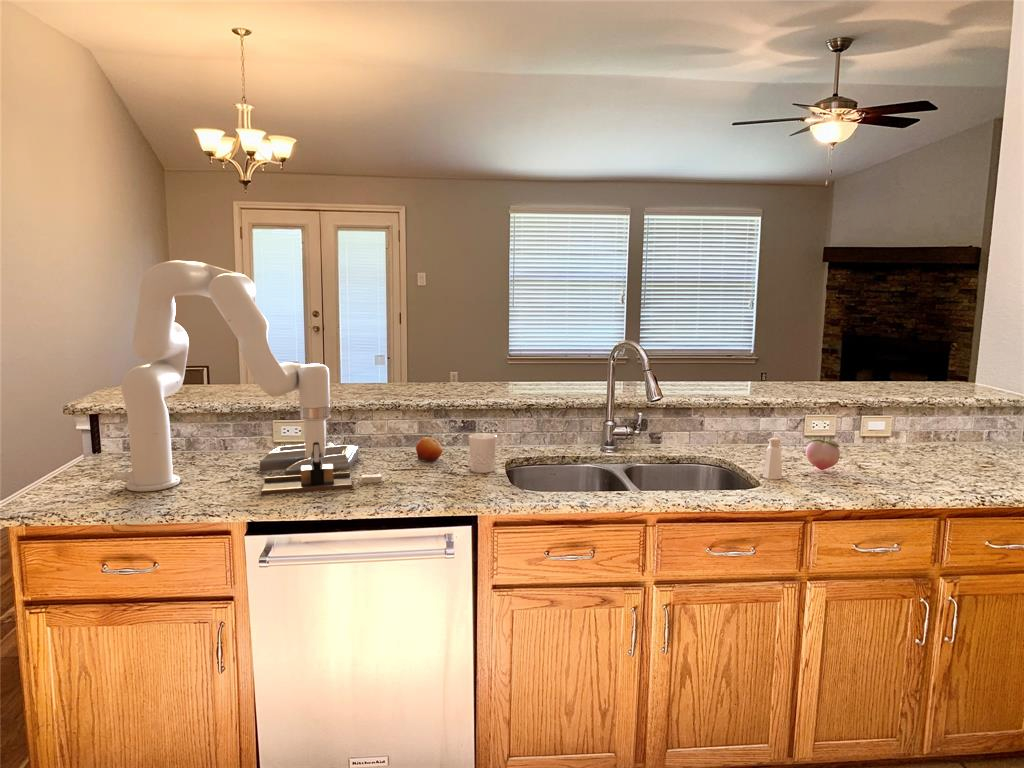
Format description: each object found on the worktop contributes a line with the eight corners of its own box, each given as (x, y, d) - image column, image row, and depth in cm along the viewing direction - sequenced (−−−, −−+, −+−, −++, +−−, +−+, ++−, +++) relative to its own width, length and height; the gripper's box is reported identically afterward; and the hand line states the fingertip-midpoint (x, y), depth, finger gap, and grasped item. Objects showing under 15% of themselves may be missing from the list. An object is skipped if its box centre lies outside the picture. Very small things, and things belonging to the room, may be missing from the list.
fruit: (412, 451, 215) (425, 430, 213) (434, 465, 215) (447, 443, 214) (407, 458, 207) (421, 436, 206) (430, 472, 207) (444, 450, 206)
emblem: (308, 466, 183) (238, 451, 197) (309, 486, 184) (239, 470, 198) (380, 445, 207) (313, 433, 221) (381, 462, 207) (314, 450, 221)
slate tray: (261, 499, 173) (261, 490, 172) (264, 485, 184) (264, 477, 184) (352, 492, 179) (352, 484, 178) (350, 479, 190) (350, 471, 190)
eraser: (301, 487, 179) (300, 470, 178) (301, 482, 183) (301, 465, 182) (333, 485, 181) (333, 468, 180) (333, 480, 185) (332, 463, 184)
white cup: (478, 475, 196) (478, 440, 194) (463, 468, 202) (463, 435, 200) (501, 470, 200) (501, 436, 199) (486, 464, 206) (486, 431, 205)
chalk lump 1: (362, 486, 184) (362, 477, 183) (361, 484, 186) (361, 475, 186) (371, 486, 184) (371, 476, 184) (371, 483, 187) (371, 474, 186)
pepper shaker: (758, 476, 197) (761, 438, 195) (767, 473, 201) (769, 435, 199) (777, 480, 193) (780, 442, 192) (785, 477, 197) (788, 438, 196)
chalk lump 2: (371, 477, 184) (381, 476, 184) (371, 474, 186) (380, 473, 187) (372, 486, 184) (381, 485, 185) (371, 483, 187) (380, 483, 187)
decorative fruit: (842, 469, 206) (844, 436, 204) (835, 475, 199) (838, 441, 198) (808, 464, 211) (811, 431, 210) (801, 469, 205) (803, 436, 203)
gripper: (300, 407, 186) (302, 473, 189) (299, 419, 170) (302, 492, 173) (329, 406, 188) (331, 472, 191) (331, 418, 172) (333, 490, 175)
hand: (317, 480), depth 182 cm, fingers closed on eraser, 4 cm apart
